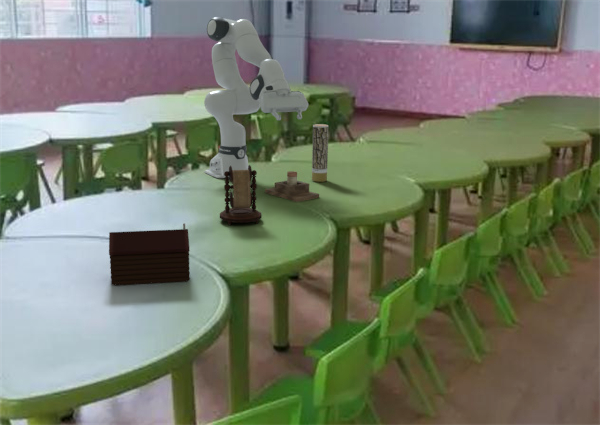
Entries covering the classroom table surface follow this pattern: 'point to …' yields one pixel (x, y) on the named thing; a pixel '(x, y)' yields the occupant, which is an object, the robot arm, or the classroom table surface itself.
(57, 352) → the classroom table surface
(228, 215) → the scroll
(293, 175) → the peg
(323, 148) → the paper tube
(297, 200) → the socket board
